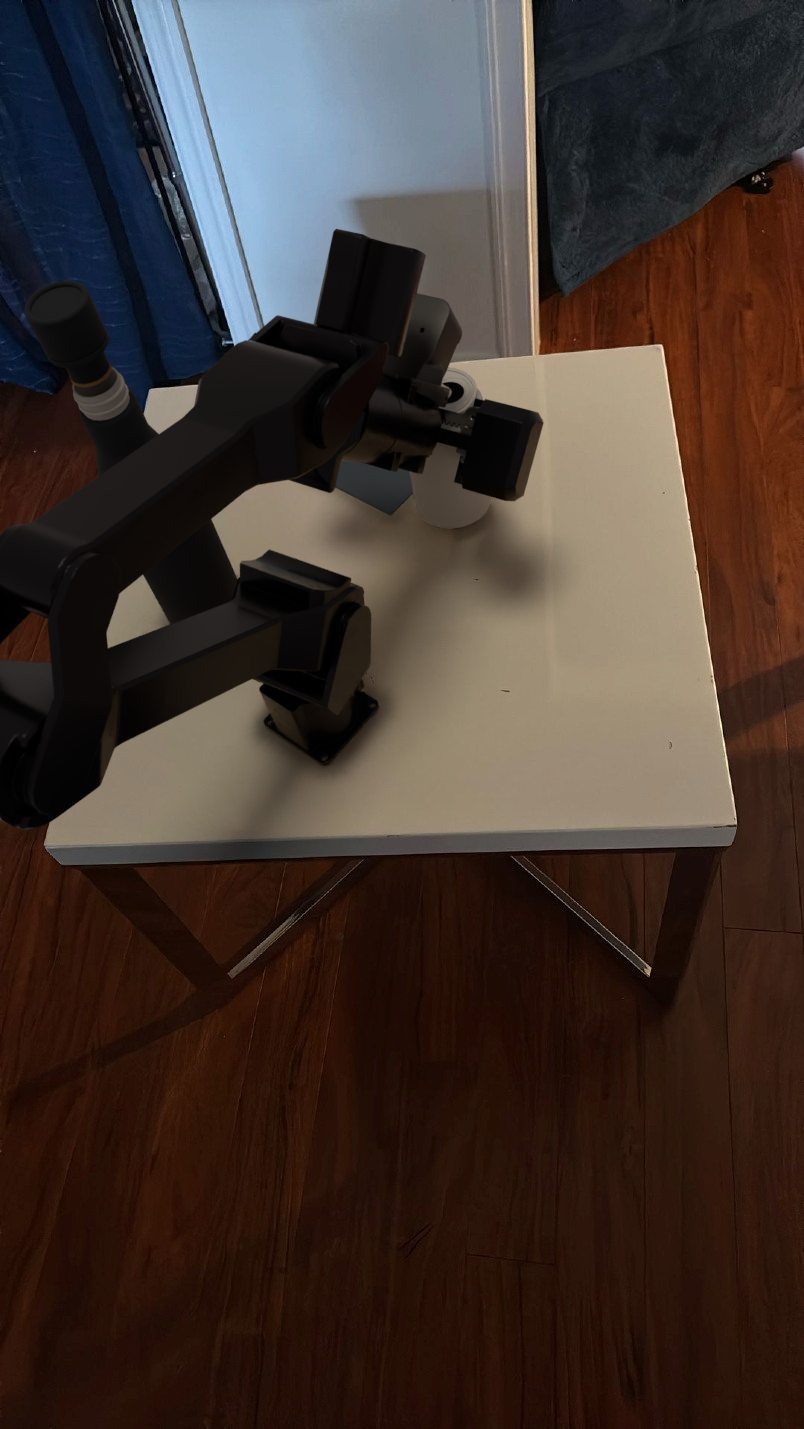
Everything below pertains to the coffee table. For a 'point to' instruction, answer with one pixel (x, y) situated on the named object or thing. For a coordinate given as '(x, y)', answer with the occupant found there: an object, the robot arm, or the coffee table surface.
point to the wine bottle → (124, 440)
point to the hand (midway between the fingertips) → (454, 434)
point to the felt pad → (375, 485)
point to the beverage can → (449, 468)
